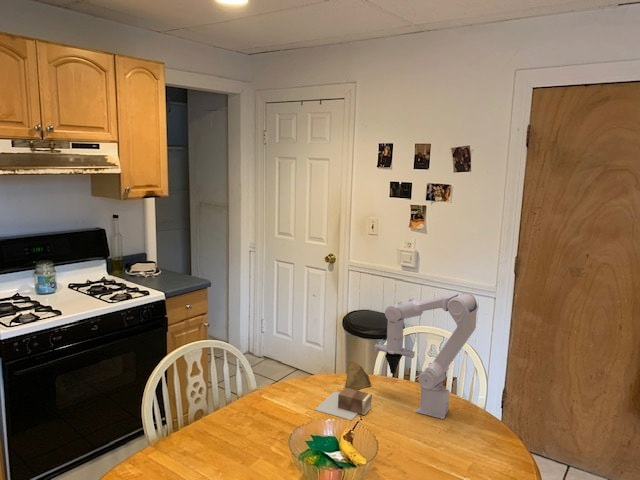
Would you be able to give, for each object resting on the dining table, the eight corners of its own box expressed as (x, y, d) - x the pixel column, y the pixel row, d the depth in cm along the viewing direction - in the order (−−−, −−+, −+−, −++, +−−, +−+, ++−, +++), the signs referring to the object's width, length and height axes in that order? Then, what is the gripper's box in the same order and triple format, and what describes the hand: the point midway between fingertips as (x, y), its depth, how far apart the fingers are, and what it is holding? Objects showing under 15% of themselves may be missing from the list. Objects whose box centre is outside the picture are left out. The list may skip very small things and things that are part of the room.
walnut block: (371, 394, 167) (345, 387, 171) (365, 401, 161) (338, 394, 166) (371, 407, 167) (345, 400, 172) (364, 415, 162) (337, 407, 167)
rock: (372, 375, 189) (347, 370, 190) (375, 364, 183) (349, 359, 184) (368, 401, 182) (342, 395, 183) (371, 390, 176) (344, 384, 177)
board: (369, 400, 173) (369, 400, 173) (351, 420, 159) (351, 419, 159) (334, 392, 179) (334, 391, 179) (314, 410, 165) (314, 409, 165)
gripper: (372, 336, 173) (370, 372, 175) (411, 343, 166) (409, 381, 168) (379, 330, 179) (377, 365, 181) (417, 337, 172) (415, 373, 174)
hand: (393, 372), depth 175 cm, fingers closed
